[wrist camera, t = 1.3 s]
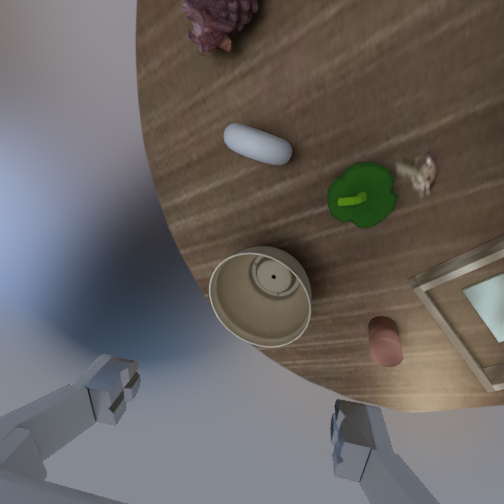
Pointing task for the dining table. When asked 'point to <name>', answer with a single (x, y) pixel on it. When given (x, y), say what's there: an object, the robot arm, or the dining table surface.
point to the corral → (481, 297)
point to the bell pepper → (362, 194)
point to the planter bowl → (262, 296)
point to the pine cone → (217, 21)
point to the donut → (257, 144)
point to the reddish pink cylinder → (384, 342)
